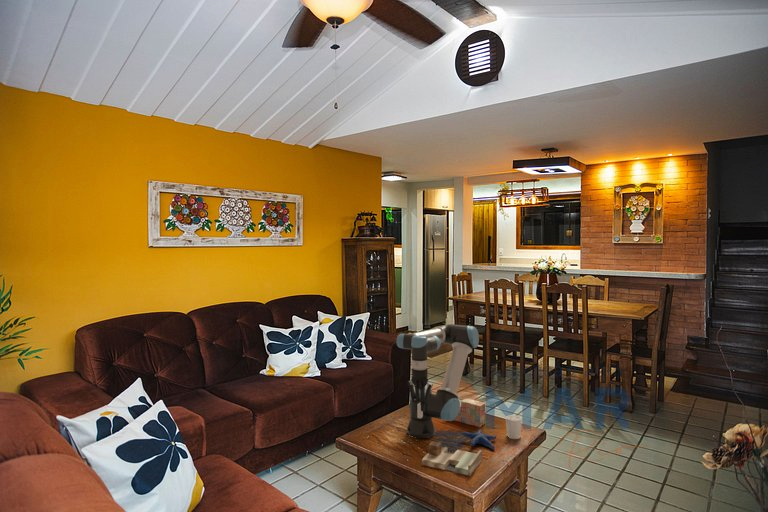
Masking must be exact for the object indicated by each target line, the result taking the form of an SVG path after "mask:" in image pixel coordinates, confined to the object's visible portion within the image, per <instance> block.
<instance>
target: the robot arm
mask: <svg viewBox="0 0 768 512" xmlns="http://www.w3.org/2000/svg"><path fill="white" fill-rule="evenodd" d="M396 337H397V338H396V346H397V347H398V348H399V349H402V350H411V380H408V381H406V385H407V386H408V389H409V420H408V421H409V422H408V424H407V428H406V434H407V433H408V434H409V435H410V436H413V437H416V438H415V439H417V438H427V439H429V438H428V437H431V438H433V437H435V435H436V427H435V425H434V422H433V418H434V419H438V420H442V421H447V422H452V421H455V420H454V419H455V418H456V417H457V415H458V413H459V410H460V402H461V400H459V395H458V393H457V392H458V390H459V386H460V383H461V379H462V376H463V372H464V369H465V366H466V363H467V359H468V355H469V354H470V353H472V352H473V349H476V348H477V347H478V346H479V343H480V338H479V337H480V336H479V330H478V329H477V327H475V326H472V325H463V324H453V323H451V324H444V325H438V326H435V327H433V328H432V329H428V330H422V331H418V332H413V333H408V334H407V333H399V334H398V335H397V336H396ZM441 344H444V345H451V347H452V351H451V355H450V358H449V361H448V363H447V366H446V367H447V368H446V370H445V374H444V377H443V380H442V384H441V387H440V388H438V389H437V390H436V393H435V394H434V393H433V392H432V388H433V386H434V383H431V382H430V381H429V379H428V376H429V375H428V372H429V371H428V370H429V369H428V354H429V353H434V352H436V351H437V350H438V349H440V348H441ZM408 434H407V435H408ZM409 435H408V436H409ZM410 436H409V437H410ZM432 436H433V437H432Z"/></svg>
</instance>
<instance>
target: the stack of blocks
mask: <svg viewBox="0 0 768 512" xmlns="http://www.w3.org/2000/svg"><path fill="white" fill-rule="evenodd" d="M453 421H456V422H459V423H463V424H466V425H470V426H473V425H474V427H477V426H478V427H477V428H481V426H482V425H483V426H484V424H485V425H486V402H482V401H480V400H476V399H470V398H463V400H460V410H459V413H458V415H457V417H456V418H455V419H454V420H453ZM483 426H482V427H483Z"/></svg>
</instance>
